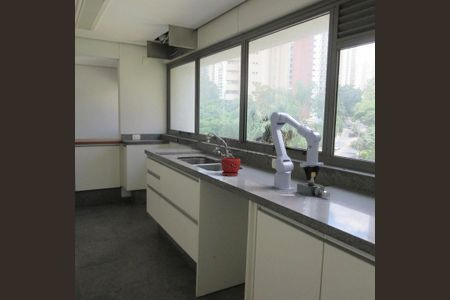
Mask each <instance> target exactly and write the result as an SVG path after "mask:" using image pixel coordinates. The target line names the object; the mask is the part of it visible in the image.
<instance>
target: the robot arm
mask: <svg viewBox="0 0 450 300" xmlns="http://www.w3.org/2000/svg"><path fill="white" fill-rule="evenodd" d="M269 120H270V126H269V129H270V132H271V136H272V140H273V145H274V149H275V152H276V156H277V158H276V159H275V160H274V162H275V170H276V172H275V174H274V178H273V185H272V188H273V187H274V188H277V189H279V190H293V189H294V187H291V178H292V177H291V174H292V171H294V168H295V167H294V162H292V159H291V157H290V156H288V154H287V150H286V146H285V143H284V138H283V135H282V131H281V130H282V128H283V127H284V126H285V125H286V124H288V125H290V126H291V127H293V129H296V132H297V134H299V135H300V136H301V137H303V138H304V139H305V141H306V145H307V146H306V147H307V149H306V162H300V163H299V167H300V168H302V169H303V171H304V173H305V177H306V181H308V180H309V181H310V180H311V173H312V172H316V173H315V177H314V181H316V179H317V177H318V174H319V172H320V170H321V169H322V168H321V167H324V162H319V149H320V148H319V145H320V142H321V140H322V135H321V133H320V132H319V131H315V129H312V128H310V127H308V124H306V123H302V124H301V123H300V122H298V121H297V120H296V119H295V118H294V117H292V116H291V115H290V114H289V113H287V112H285V111H284V112H281V111H273V112H272V113H271V115H270V117H269Z"/></svg>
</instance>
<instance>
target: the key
mask: <svg viewBox="0 0 450 300" xmlns="http://www.w3.org/2000/svg"><path fill="white" fill-rule="evenodd" d="M315 173H316V172H312V173H311V180H310V181H309V180H307V181H308V182H307V183H308V185H311V186H313V185H314V183H315V180H314V177H315Z"/></svg>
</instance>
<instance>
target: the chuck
mask: <svg viewBox="0 0 450 300" xmlns="http://www.w3.org/2000/svg"><path fill="white" fill-rule="evenodd" d="M296 185H297V186H296V193H297V194H298V193H299V194H301V193H302V194H301V195H304V194H305V195H304V196H307V197H314V196H315V197H322V196H323V197H326V198H330V196H331V193H330V191H329V192H328V191H326V190H325V185H322V184H319V183H315V182H314V185H313V186H311V185H308V182H305V183H303V182H302V183H300V182H299V183H297V184H296Z"/></svg>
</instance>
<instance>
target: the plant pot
mask: <svg viewBox="0 0 450 300" xmlns="http://www.w3.org/2000/svg"><path fill="white" fill-rule="evenodd" d="M240 167H241V159H240V158H238V157H222V158H221V169H222V172H221V174H222V175H223V176H225V175H227V176H226V177H236V176H238V175H239V171H240Z"/></svg>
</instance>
